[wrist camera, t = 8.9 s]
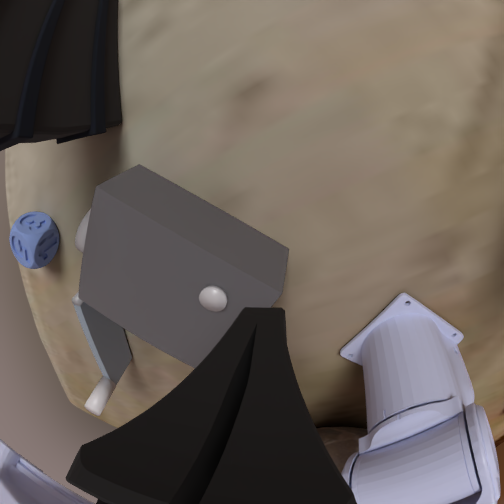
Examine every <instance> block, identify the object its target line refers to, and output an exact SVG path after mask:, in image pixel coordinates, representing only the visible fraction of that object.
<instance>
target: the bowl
mask: <svg viewBox="0 0 504 504" xmlns="http://www.w3.org/2000/svg"><path fill="white" fill-rule="evenodd" d="M316 429H317V431H318V433H319V435H320V437H321V439H322V441H323V443H324V445H325V447H326V449H327V451H328V453H329V454H330V456H331V458H332V460H333V461H334V463H335V465H336V466H337V468H338V470H339V471H340V473H342V470H343V468H344V466H345V463H346V462H347V460H348V458H349V457H350V456H351V455H352V454H353V453H355V452H358V451H359V438H362V437H364V436H366V435H368V430H367V429H363V428H354V427H322V428H316Z"/></svg>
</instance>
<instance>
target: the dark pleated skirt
mask: <svg viewBox="0 0 504 504" xmlns="http://www.w3.org/2000/svg"><path fill="white" fill-rule="evenodd" d="M117 9H118V0H0V151H2V150H4V149H6V148H9V147H11V146H14V145H16V144H18V143H36V142H41V141H46V140H51V139H57V144H59V143H63V142H67V141H71V140H75V139H79V138H83V137H87V136H92V135H96V134H101V133H105V132H106V128H108V127H113V126H118V125H119V124H120V123H121V122H122V116H121V105H120V93H119V77H118V54H117Z"/></svg>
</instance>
